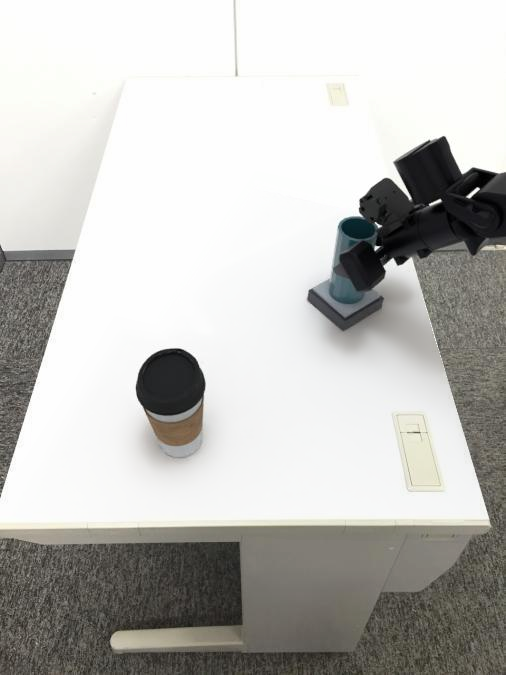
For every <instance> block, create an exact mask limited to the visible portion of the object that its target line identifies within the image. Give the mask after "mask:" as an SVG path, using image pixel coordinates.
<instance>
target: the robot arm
mask: <svg viewBox="0 0 506 675" xmlns="http://www.w3.org/2000/svg"><path fill="white" fill-rule="evenodd" d="M392 164H393V165H394V167H395V169H396V171H397V173H398V176H399V177H400V179H401V181H402V183H403V185H404V187H405V189H406V191H407V193H408V194H409V196H410V198H409V197H408V195H407V194H406V193H405V191H403V190H402V188H400V187H399V186H398V184H397V183H395V181H394V180H393V179H392V178H389V177H384V178H382V179H381V180H379V181H378V182H376V183H375V184H374V185H372V186H371V187H370V188H369V190H368V191H367V192H366V193H365V195H363V196H361V197H360V198H359V199H358V204H359V207H358V213H359V215H360V216H361V217H364V218H365V219H366V220H367V221H368V223H370V224H374V223H375V224H376V225H379V226H378V229H376V232H377V234H378V238H377V242H376V247H378V248H377V249H375V250H374V248H373V247H372V245H371V244H370V243H368V242H366V241H364V240H362V241H359V242H357V243H355V244H353V245H351V246H350V247H349V248H347V249H346V250H345V251H344V252H342V253H341V254H340V256H339V261H340V263H339V264H337V265H336V266H334V267H333V271H334V272H335V274H337V275H339V276H342V277H345V278H347V279H350V280H351V282H352V284H353V286H354V287H355V289H356V291H357V292H359V293H363V292H367V291H371V290H372V289H374V288H376V287H377V286H378V285H379V284H380V283H381V282H382V281H384V280H385V278H386V273H387V270H386V269H385V265H387V264H388V263H389V262H390V261H391V260H393V261H394V262H395V264H396V266H397V267H398V266H402V265H404V264H405V263H407V262H408V261H409V260H410V259H411V258H414V257H417V256H418V258H419V260H422V259H423V260H424V259H426V258H428V257H429V256H430V255H431V254H432V253H433V252H434V251H436V250H440V249H443V248H446V247H450V246H453V245H456V244H460V243H463V242H464V244H465V247H466V248H467V249H468V252H469V254H470V256H472V257H474V256H477V255H478V254H479V253H480V252H481V251H482V250H483V249H484V247H486V246H487V245H488V244H489V243H490V242H489V241H490V240H491V239H500V238H506V171H503V172H499V173H498V172H494V171H490V170H487V169H482V168H478V167H471V168H469V169H468V170H467V171H466V172H464V173H462V172H461V169H460V166H459V164H458V163H457V161H456V158H455V157H454V155H453V153H452V150H451V145H450V143H449V141H448V139H447V136H445V135H442V136H440V137H438V138H434V139H428V140H425V141H424V142H422V143H420V144H418V145H417V146H415V147H413V148H412V149H410V150H408V151H407V152H405V153H403V154H402V155H400V156H399V157H398V158H396V159H395V160H393V161H392ZM477 188H478V190H477ZM476 190H477V191H476ZM475 191H476V192H475ZM473 192H475V193H473ZM472 193H473V194H472ZM471 194H472V195H471ZM469 195H471V196H470V197H468V196H469ZM439 200H440V201H439ZM437 201H438V202H437ZM435 202H436V203H435ZM433 203H434V204H433ZM430 204H431V205H430Z"/></svg>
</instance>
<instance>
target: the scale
mask: <svg viewBox="0 0 506 675" xmlns="http://www.w3.org/2000/svg"><path fill="white" fill-rule="evenodd" d="M329 281H330V278H328V279H327V280H324V281H323V282H321V283H319V284H318V285H315V286H313V287H311V288H310V289H308V291H307V299H306V300H307V301H308V302H309V303H310V304H311V305H312V306H313V307H314V308H315V309H317V310H318V311H319V312H321V314H323V315H324V316H325V317H326V318H327V319H328V320H329V321H330V322H331V323H333V324H334V325H335V326H336V327H337V328H339V329H340V330H341V331H342V332H344V331H346V330H348V329H349V328H351V327H352V326H354V325H356V324H358V323H359V322H361V321H362V320H364V319H366V318H367V317H369V316H371V315H372V314H374V313H376V312H378V311H379V310H381V309H382V308H383V304H384V300H385V297H384V296H382V295H381V294H380V293H379V292H378V291H376V290H375V289H374V288H373V289H372V290H371V291H367V292H365V295H364V297H363V299H362V300H361V301H359V302H357V303H354V304H343V303H340V302H337V301H335V300H334V299H333V298H332V297H331V296H330V294H329Z"/></svg>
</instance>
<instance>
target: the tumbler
mask: <svg viewBox="0 0 506 675" xmlns="http://www.w3.org/2000/svg"><path fill="white" fill-rule="evenodd" d="M378 228H379V226H378V224H377V223H376V222H375V223H374V224H370V223H368V221H367V220H366V219H365V218H364V217H363V216H361V215H360V216H358V215H353V216H348V217H344V218H343V219H341V220H340V221H339V223H338V225H337V228H336V234H335V242H334V248H333V255H332V263H331V269H330V275H329V279H330V281H329V294H330V296H331V297H332V298H333V299H334V300H335V301H337V302H340V303H343V304H354V303H357V302H359V301H361V300H362V299H363V297H364V295H365V292H363V293H359V292H357V291H356V289H355V287H354V286H353V284H352V282H351V280H350V279H347V278H345V277H342V276H339V275H337V274H335V272H334V271H333V267H334V266H336V265H337V264H339V263H340V261H339V256H340V254H341V253H342V252H344V251H345V250H346V249H347V248H349V247H350V246H351V245H353V244H355V243H357V242H359V241H362V240H364V241H366V242H368V243H370V244H371V245H372V247H373V248H374V250H375V251H376V247H377V246H376V242H377V238H378V234H377V232H376V229H378Z"/></svg>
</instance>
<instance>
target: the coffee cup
mask: <svg viewBox="0 0 506 675" xmlns="http://www.w3.org/2000/svg"><path fill="white" fill-rule="evenodd" d="M198 361H199V360H197V358H196V357H195V356H194V355H193V354H191V353H190V352H188V351H187V350H185V349H183V348H181V347H180V348H179V347H173V348H172V347H171V348H163V349H160V350H158V351H156V352H154V353H152V354H151V355H149V357H147V358H146V359H145V361H144V362H143V363H142V365H141V366H140V368H139V371H138V373H137V378H136V381H135V382H136V384H135V392H136V393H135V394H136V399H137V401H138V403H139V404H140V406H142V409H143V412H144V414H145V415H146V418H147V420H148V422H149V424H150V426H151V429H152V431H153V433H154V435H155V437H156V439H157V441H158V444H159V447H160V449H161V450H162V451H163V452H164V453H165V454H166V455H168V456H169V457H172V458H178V459H179V458H186V457H189V456H191V455H193V454H194V453H195V452H197V451H198V449H199V448H200V446H201V445H202V441H203V427H204V426H203V424H204V423H203V421H204V402H205V392H206V387H207V386H206V385H207V383H206V378H205V374H204V372H203V370H202V368H201V367H200V364H199V362H198Z"/></svg>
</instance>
